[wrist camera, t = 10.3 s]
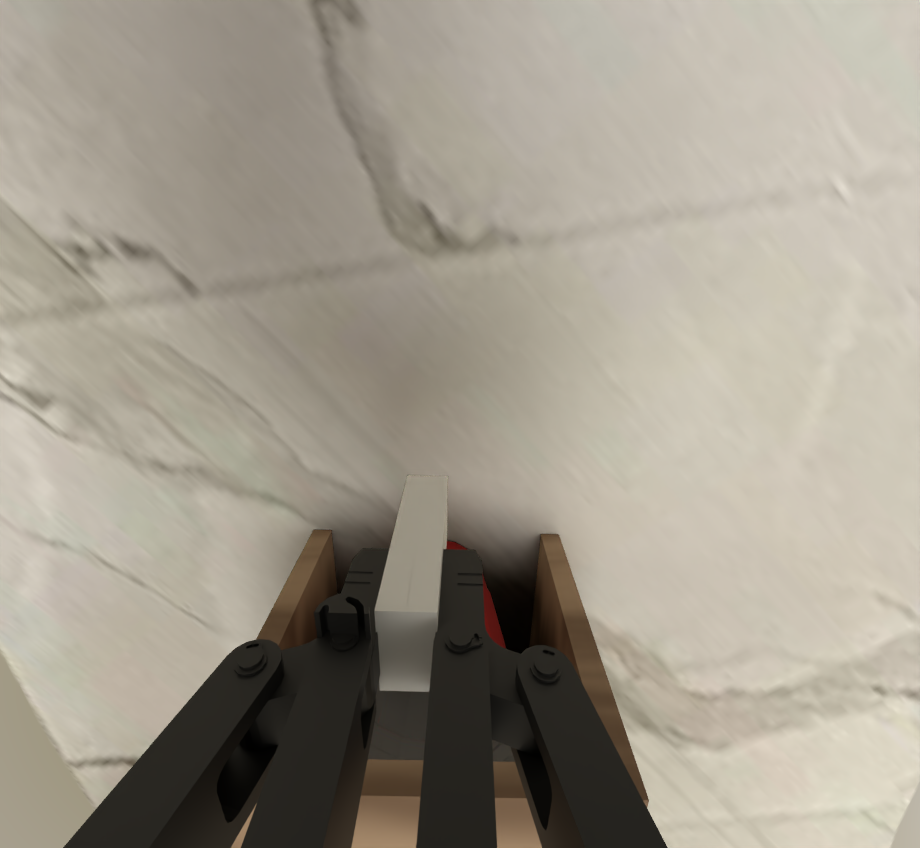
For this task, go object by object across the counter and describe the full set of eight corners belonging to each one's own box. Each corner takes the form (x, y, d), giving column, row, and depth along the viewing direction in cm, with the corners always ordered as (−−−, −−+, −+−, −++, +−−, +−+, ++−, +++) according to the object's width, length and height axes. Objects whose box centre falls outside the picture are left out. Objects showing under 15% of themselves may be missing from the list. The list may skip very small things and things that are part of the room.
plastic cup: (352, 505, 30) (284, 661, 19) (517, 505, 30) (550, 662, 18) (365, 632, 34) (316, 824, 22) (511, 633, 34) (535, 825, 22)
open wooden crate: (313, 529, 30) (176, 792, 16) (558, 534, 30) (648, 800, 16) (328, 662, 35) (231, 965, 20) (543, 667, 35) (602, 971, 20)
